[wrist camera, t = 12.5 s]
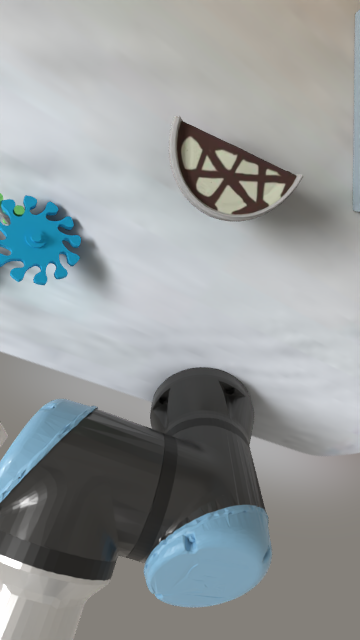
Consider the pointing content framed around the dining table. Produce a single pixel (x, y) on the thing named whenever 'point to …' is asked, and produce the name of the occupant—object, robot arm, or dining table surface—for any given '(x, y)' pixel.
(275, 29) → the dining table surface
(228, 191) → the food container
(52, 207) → the gear
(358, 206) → the hole block
